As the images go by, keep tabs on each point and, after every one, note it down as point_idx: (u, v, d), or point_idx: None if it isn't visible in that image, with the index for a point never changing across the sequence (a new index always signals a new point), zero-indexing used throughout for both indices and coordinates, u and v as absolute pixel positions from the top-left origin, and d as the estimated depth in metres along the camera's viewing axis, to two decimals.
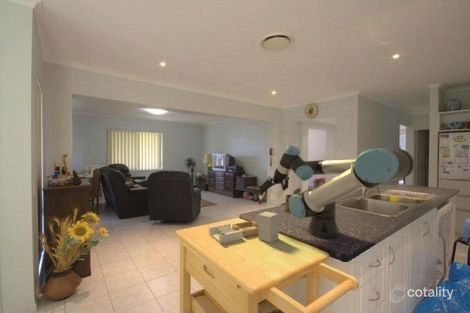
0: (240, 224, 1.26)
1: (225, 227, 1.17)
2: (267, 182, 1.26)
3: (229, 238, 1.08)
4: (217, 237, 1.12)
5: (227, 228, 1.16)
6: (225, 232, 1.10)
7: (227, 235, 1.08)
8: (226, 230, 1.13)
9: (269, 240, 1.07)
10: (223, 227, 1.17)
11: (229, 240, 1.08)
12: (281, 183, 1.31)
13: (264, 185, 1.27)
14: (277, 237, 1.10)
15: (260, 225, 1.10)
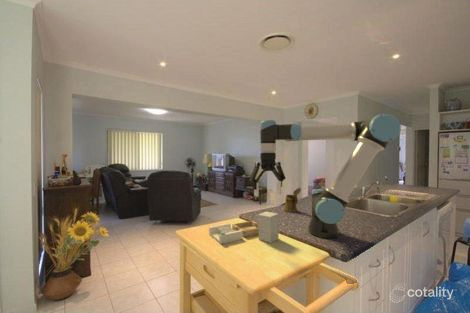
0: (240, 224, 1.26)
1: (225, 227, 1.17)
2: (255, 168, 1.07)
3: (229, 238, 1.08)
4: (217, 237, 1.12)
5: (227, 228, 1.16)
6: (225, 232, 1.10)
7: (227, 235, 1.08)
8: (226, 230, 1.13)
9: (269, 240, 1.07)
10: (223, 227, 1.17)
11: (229, 240, 1.08)
12: (273, 170, 1.11)
13: (253, 173, 1.07)
14: (277, 237, 1.10)
15: (260, 225, 1.10)
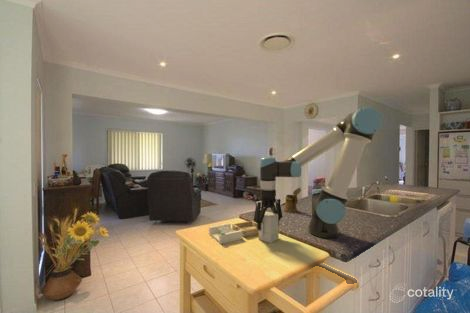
0: (240, 224, 1.26)
1: (225, 227, 1.17)
2: (257, 208, 1.07)
3: (229, 238, 1.08)
4: (217, 237, 1.12)
5: (227, 228, 1.16)
6: (225, 232, 1.10)
7: (227, 235, 1.08)
8: (226, 230, 1.13)
9: (269, 240, 1.07)
10: (223, 227, 1.17)
11: (229, 240, 1.08)
12: (273, 207, 1.11)
13: (256, 214, 1.07)
14: (277, 237, 1.10)
15: None
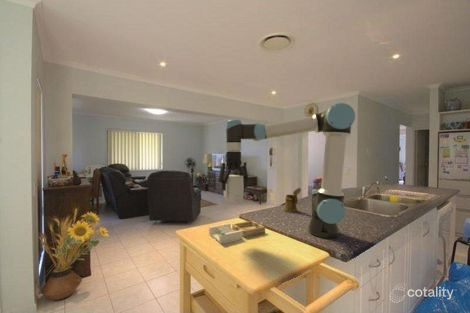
0: (240, 224, 1.26)
1: (225, 227, 1.17)
2: (221, 169, 1.10)
3: (229, 238, 1.08)
4: (217, 237, 1.12)
5: (227, 228, 1.16)
6: (225, 232, 1.10)
7: (227, 235, 1.08)
8: (226, 230, 1.13)
9: (233, 200, 1.09)
10: (223, 227, 1.17)
11: (229, 240, 1.08)
12: (238, 169, 1.13)
13: (220, 174, 1.10)
14: (242, 198, 1.13)
15: None
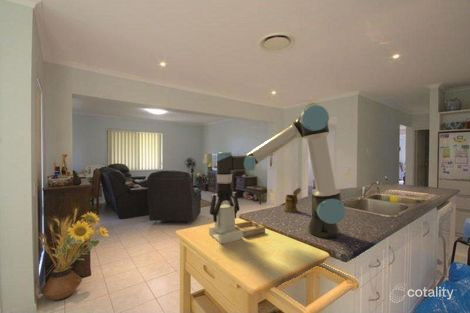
0: (240, 224, 1.26)
1: None
2: (212, 201, 1.11)
3: (229, 238, 1.08)
4: (217, 237, 1.12)
5: None
6: None
7: (227, 235, 1.08)
8: None
9: (224, 231, 1.11)
10: None
11: (229, 240, 1.08)
12: (229, 200, 1.15)
13: (211, 206, 1.11)
14: (233, 229, 1.14)
15: None
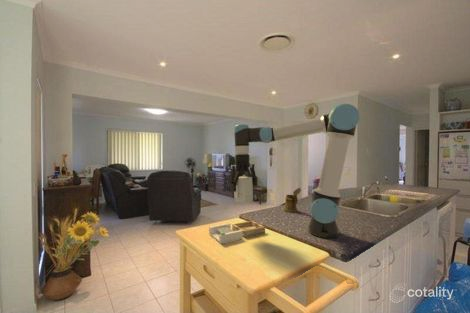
0: (240, 224, 1.26)
1: (225, 229, 1.17)
2: (232, 171, 1.16)
3: (229, 238, 1.08)
4: (217, 237, 1.12)
5: (227, 230, 1.16)
6: None
7: (227, 235, 1.08)
8: (226, 232, 1.13)
9: (243, 200, 1.15)
10: (223, 229, 1.17)
11: (229, 240, 1.08)
12: (247, 171, 1.19)
13: (231, 176, 1.15)
14: (251, 198, 1.19)
15: None
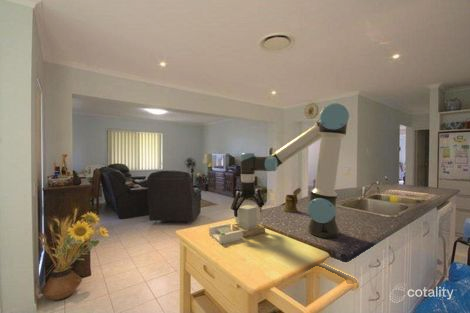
0: None
1: (225, 229, 1.17)
2: (236, 197, 1.18)
3: (229, 238, 1.08)
4: (217, 237, 1.12)
5: (227, 230, 1.16)
6: None
7: (227, 235, 1.08)
8: (226, 232, 1.13)
9: None
10: (223, 229, 1.17)
11: (229, 240, 1.08)
12: (253, 197, 1.22)
13: (234, 202, 1.17)
14: None
15: (240, 217, 1.21)
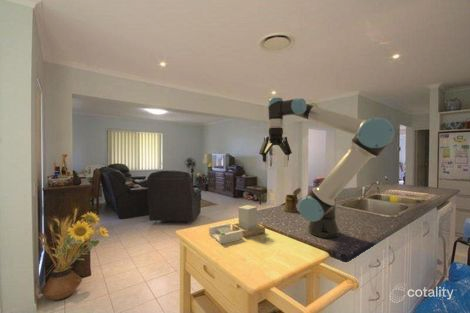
0: None
1: (225, 229, 1.17)
2: (265, 142, 1.16)
3: (229, 238, 1.08)
4: (217, 237, 1.12)
5: (227, 230, 1.16)
6: None
7: (227, 235, 1.08)
8: (226, 232, 1.13)
9: None
10: (223, 229, 1.17)
11: (229, 240, 1.08)
12: (281, 144, 1.20)
13: (263, 146, 1.16)
14: None
15: (240, 217, 1.21)
